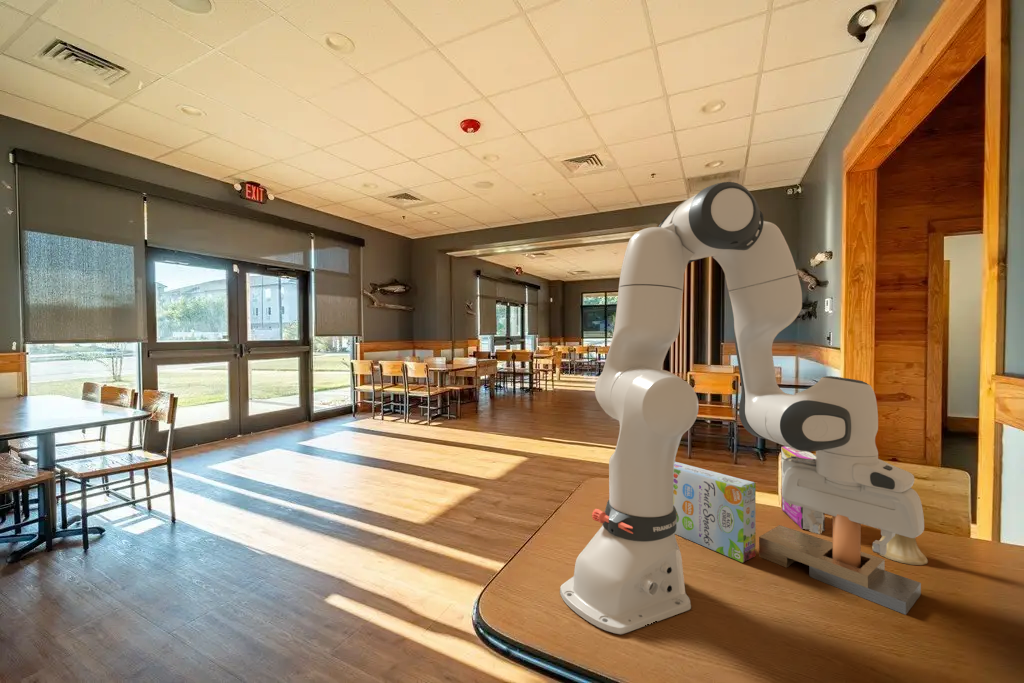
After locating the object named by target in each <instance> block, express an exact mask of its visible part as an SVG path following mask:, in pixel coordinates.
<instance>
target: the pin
mask: <svg viewBox="0 0 1024 683" xmlns="http://www.w3.org/2000/svg"><path fill="white" fill-rule="evenodd" d="M831 517H832V518H831V519H832V529H831V530H832V542H833V559H834V560H837V561H840V562H843V563H845V564H848V565H851V566H854V567H857V568H861V552H862V550H861V549H862V546H861V545H862V544H861V539H862V538H861V537H862V536H861V535H862V533H861V531H862V530H861V529H862V528H861V527H862V526H861V525H862V524H860V523H856V522H853V521H850V520H849V518H848V517H845V516H841V515H838V514H837V516H832V515H831Z"/></svg>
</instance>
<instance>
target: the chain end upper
mask: <svg viewBox="0 0 1024 683" xmlns="http://www.w3.org/2000/svg"><path fill="white" fill-rule="evenodd" d="M758 556H759V558H761V559H763V560H766V561H768V562H772V563H774V564H777V565H779V566H781V567H783V568H788V567H790V566H792V564H794V563H795V562H798V563H800V564H801V563H802V564H804V565H806V566H811V567H814V568H816V569H819V570H822V571H824V572H827V573H830V574H832V575H835V576H838V577H840V578H843V579H845V580H848V581H851V582H853V583H856V584H859V585H861V586H864V587H867V588H868V587H869V586H870V585H871V584H872V583H873V582H874V581H875V580H876V579H877V578H878V577H879V576H880V575H881V574H882V573H883V572H884V571H886V568H885V566H886V565H885V563H886V562H885V561H886V560H885V559H884V558H881V557H879V556H875V555H872V554H869V553H866V552H864V551H861V568H857V567H854V566H851V565H848V564H845V563H843V562H840V561H837V560H834V559H832V558H833V541H830V540H826V539H823V538H820V537H819V536H818V537H817V536H814V535H812V534H808V533H806V532H802V531H799V530H796V529H794V528H793V529H792V528H789V527H787V526H785V525H784V526H783V525H782V524H781V525H779V524H778V525H777V526H775V527H774V528H772V529H770V530H768V531H767V532H765V533H763V534H761V535H760V536H758Z"/></svg>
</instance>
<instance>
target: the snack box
mask: <svg viewBox="0 0 1024 683" xmlns="http://www.w3.org/2000/svg"><path fill="white" fill-rule="evenodd" d="M756 487H757V486H756V482H754V481H750V480H747V479H742V478H739V477H735V476H731V475H728V474H724V473H720V472H716V471H713V470H708V469H704V468H701V467H697V466H694V465H689V464H686V463H682V462H678V461H675V463H674V486H673V505H674V507H675V508H676V516H677V523H676V527H677V529H676V531H675V536H676V535H677V536H679V537H681V538H683V539H685V540H688V541H691V542H693V543H695V544H697V545H700V546H702V547H704V548H707V549H709V550H712V551H714V552H717V553H719V554H721V555H724V556H726V557H728V558H730V559H733V560H735V561H737V562H740V563H745V562H746V561H748V560H751V559H752V558H755V557H756V553H757V552H756V550H757V548H756V547H757V546H756V543H757V542H756V540H757V539H756V536H757V535H756V530H757V528H756V527H757V526H756V505H757V504H756V502H757V501H756V499H757V498H756V496H757V495H756V491H757V489H756Z"/></svg>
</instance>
